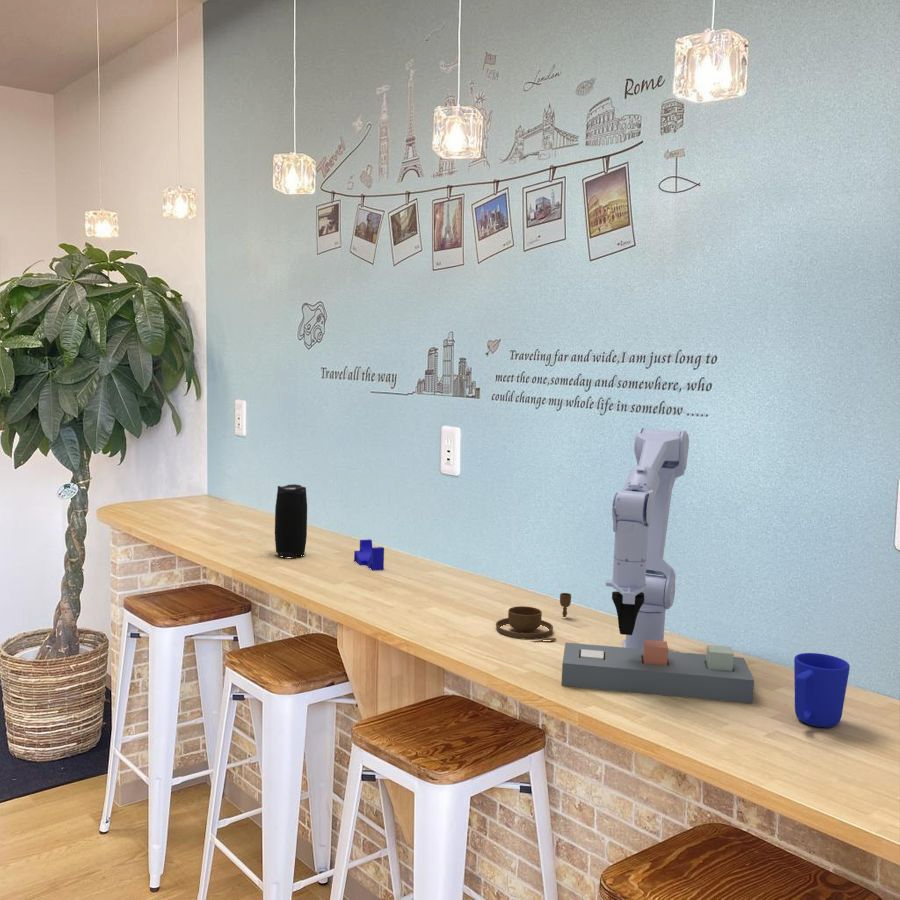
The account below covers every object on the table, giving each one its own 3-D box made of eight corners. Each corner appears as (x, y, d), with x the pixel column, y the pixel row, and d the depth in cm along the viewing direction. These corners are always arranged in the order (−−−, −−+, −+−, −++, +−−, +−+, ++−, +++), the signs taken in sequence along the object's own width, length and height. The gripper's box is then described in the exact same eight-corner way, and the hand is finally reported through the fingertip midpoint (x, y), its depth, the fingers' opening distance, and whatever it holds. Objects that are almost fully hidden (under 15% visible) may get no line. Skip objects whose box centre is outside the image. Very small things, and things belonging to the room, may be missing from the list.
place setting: (482, 622, 196) (483, 596, 195) (566, 617, 202) (567, 591, 202) (513, 647, 179) (514, 618, 179) (603, 641, 186) (605, 613, 185)
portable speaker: (271, 558, 248) (272, 487, 246) (279, 551, 257) (280, 483, 255) (302, 560, 247) (303, 489, 245) (309, 552, 257) (310, 484, 255)
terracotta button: (642, 661, 163) (643, 639, 162) (665, 663, 162) (666, 641, 162) (643, 668, 159) (644, 646, 158) (666, 670, 158) (668, 648, 158)
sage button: (705, 666, 161) (707, 644, 161) (729, 668, 160) (730, 646, 160) (708, 674, 157) (709, 651, 157) (732, 676, 156) (733, 653, 156)
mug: (769, 726, 143) (774, 664, 142) (803, 707, 151) (807, 649, 150) (821, 743, 137) (826, 678, 136) (853, 722, 145) (858, 662, 144)
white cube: (580, 670, 165) (581, 649, 164) (602, 672, 164) (603, 651, 164) (579, 678, 161) (580, 656, 161) (602, 680, 160) (603, 658, 160)
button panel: (564, 663, 169) (565, 642, 169) (742, 679, 164) (743, 657, 164) (561, 685, 158) (562, 663, 157) (752, 703, 152) (754, 680, 152)
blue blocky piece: (354, 561, 249) (354, 540, 248) (369, 560, 250) (370, 539, 250) (367, 571, 238) (367, 548, 237) (383, 570, 239) (384, 548, 239)
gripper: (607, 548, 167) (603, 620, 169) (606, 565, 153) (602, 643, 155) (646, 551, 166) (642, 623, 167) (649, 568, 152) (644, 647, 153)
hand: (626, 633), depth 161 cm, fingers closed
